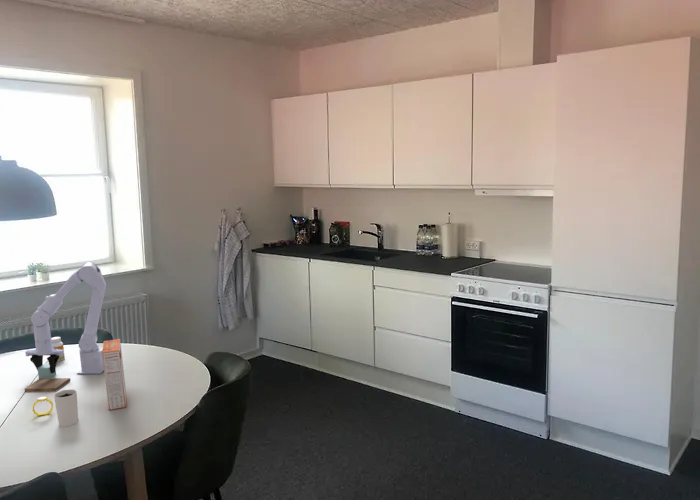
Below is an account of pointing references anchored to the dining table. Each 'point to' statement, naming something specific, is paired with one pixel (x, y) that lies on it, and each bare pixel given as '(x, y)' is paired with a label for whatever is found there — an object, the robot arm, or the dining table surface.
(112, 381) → the cracker box
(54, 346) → the supplement bottle
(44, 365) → the teal cube
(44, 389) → the walnut board
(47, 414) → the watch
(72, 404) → the white cup
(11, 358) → the dining table surface
